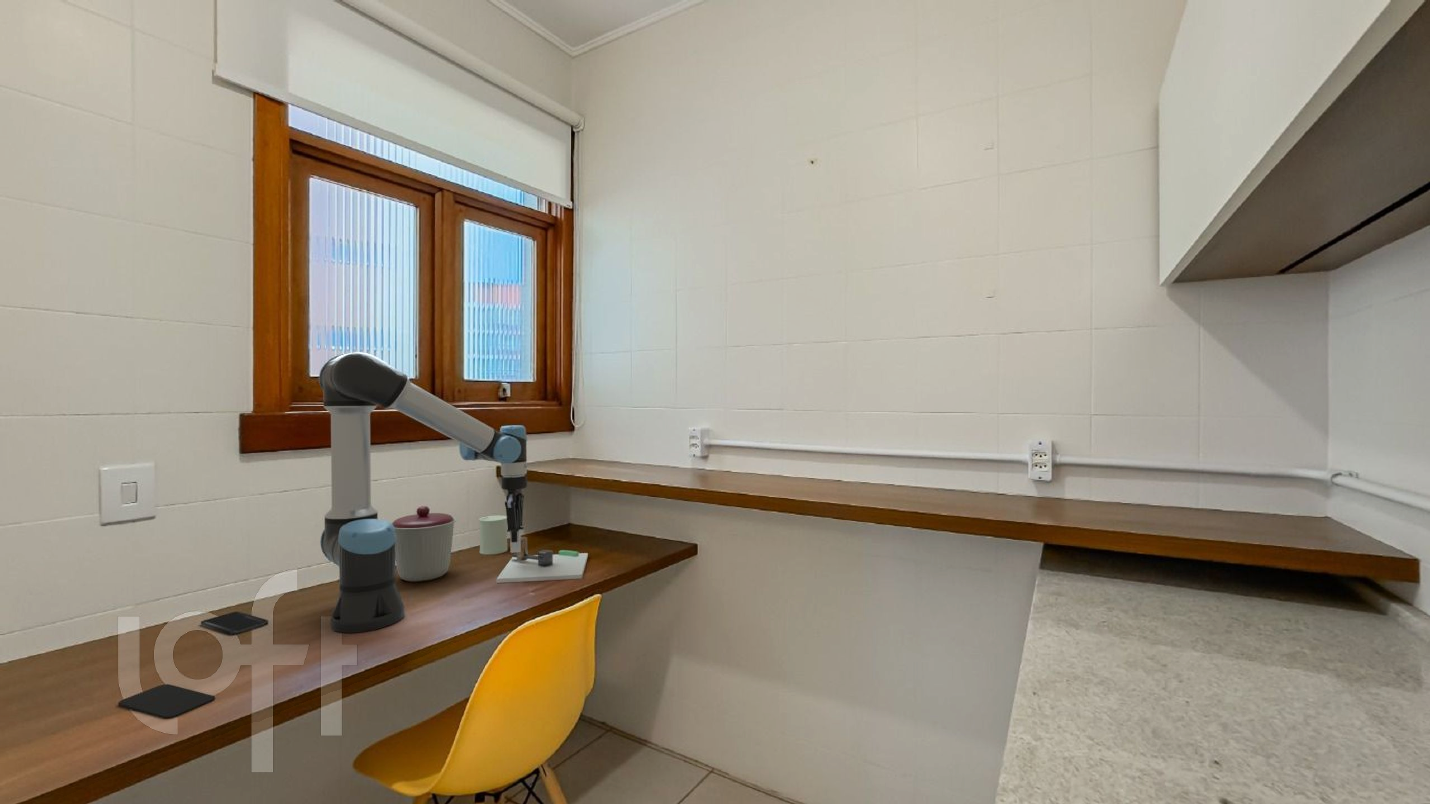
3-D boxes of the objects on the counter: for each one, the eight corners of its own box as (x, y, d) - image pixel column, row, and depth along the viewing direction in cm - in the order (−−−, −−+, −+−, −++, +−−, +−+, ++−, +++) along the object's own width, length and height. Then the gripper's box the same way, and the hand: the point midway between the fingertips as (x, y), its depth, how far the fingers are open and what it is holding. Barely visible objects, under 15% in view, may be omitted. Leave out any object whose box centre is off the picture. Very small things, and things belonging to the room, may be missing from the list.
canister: (382, 576, 178) (381, 506, 178) (446, 564, 190) (445, 498, 190) (398, 590, 164) (397, 515, 164) (465, 577, 176) (464, 506, 176)
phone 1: (168, 718, 99) (114, 702, 104) (168, 723, 99) (114, 707, 104) (218, 696, 106) (165, 682, 111) (218, 701, 106) (165, 687, 111)
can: (478, 549, 208) (478, 515, 208) (506, 546, 212) (505, 513, 212) (480, 555, 200) (479, 520, 199) (509, 552, 204) (508, 517, 203)
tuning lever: (555, 562, 185) (555, 539, 185) (546, 566, 181) (546, 542, 181) (519, 558, 190) (519, 535, 190) (509, 562, 186) (509, 538, 186)
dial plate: (496, 582, 170) (496, 574, 170) (513, 559, 195) (513, 552, 195) (581, 578, 174) (581, 570, 174) (588, 556, 198) (587, 548, 198)
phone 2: (231, 632, 134) (198, 621, 141) (232, 637, 134) (198, 626, 141) (270, 620, 141) (237, 610, 148) (270, 625, 141) (237, 615, 148)
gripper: (521, 478, 176) (522, 557, 177) (531, 472, 189) (533, 546, 190) (495, 478, 176) (496, 558, 176) (507, 473, 189) (509, 546, 189)
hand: (515, 551), depth 183 cm, fingers closed
